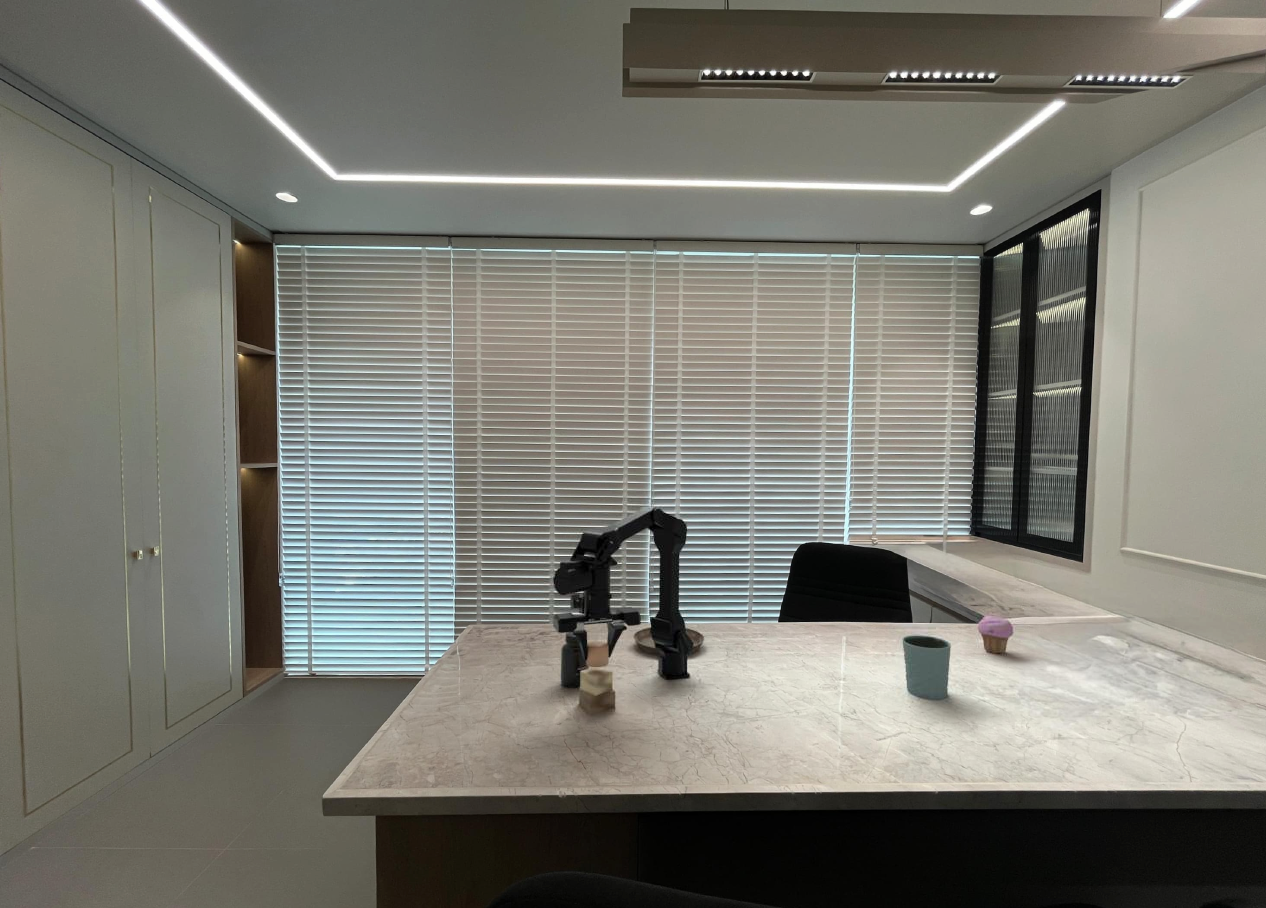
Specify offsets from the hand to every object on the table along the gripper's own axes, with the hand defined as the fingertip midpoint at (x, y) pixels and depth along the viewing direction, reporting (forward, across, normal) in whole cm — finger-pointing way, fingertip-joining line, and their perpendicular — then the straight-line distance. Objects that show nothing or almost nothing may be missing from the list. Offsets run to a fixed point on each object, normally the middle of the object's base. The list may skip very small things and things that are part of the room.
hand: (597, 658), depth 130 cm
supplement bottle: (+11, +1, -15) cm, 19 cm away
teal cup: (+11, -75, +19) cm, 78 cm away
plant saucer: (+11, -32, -33) cm, 47 cm away
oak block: (+7, 0, 0) cm, 7 cm away
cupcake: (+11, -118, +3) cm, 118 cm away
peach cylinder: (+1, 0, 0) cm, 1 cm away
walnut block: (+11, 0, 0) cm, 11 cm away
